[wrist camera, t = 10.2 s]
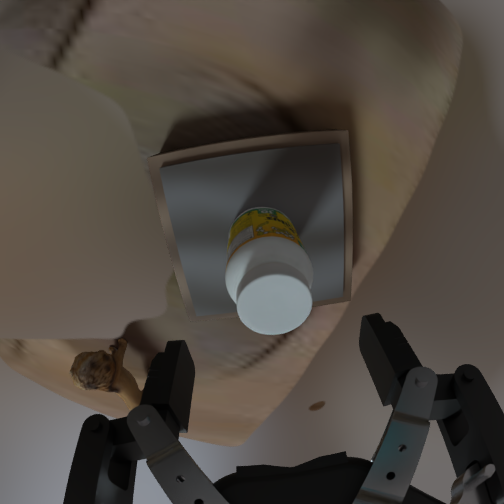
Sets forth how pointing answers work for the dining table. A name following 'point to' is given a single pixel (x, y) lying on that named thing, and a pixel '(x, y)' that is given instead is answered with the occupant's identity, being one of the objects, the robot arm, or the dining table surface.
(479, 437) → the robot arm
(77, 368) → the lion figurine
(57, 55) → the dining table surface
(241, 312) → the supplement bottle
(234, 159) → the wooden framed mirror
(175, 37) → the dining table surface
